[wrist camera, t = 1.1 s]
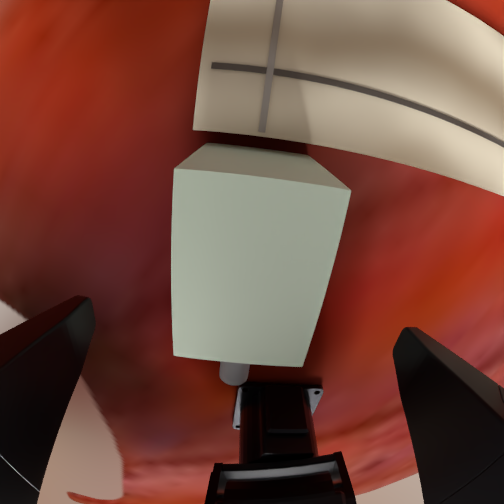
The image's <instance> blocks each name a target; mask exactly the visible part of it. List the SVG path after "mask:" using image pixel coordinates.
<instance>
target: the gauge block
mask: <svg viewBox="0 0 504 504" xmlns="http://www.w3.org/2000/svg"><path fill="white" fill-rule="evenodd" d="M350 194H351V190H350V189H349V188H348V187H347V186H345V185H344V184H343V183H342V182H341V181H340V180H338V179H337V178H336V177H335V176H334V175H332V174H331V173H330V172H329V171H327V170H326V169H325V168H324V167H322V166H321V165H320V164H319V163H317V162H316V161H315V160H314V159H312V158H311V157H310V156H309V155H305V154H298V153H292V152H285V151H278V150H271V149H263V148H255V147H247V146H237V145H228V144H217V143H206V144H205V145H203V146H202V147H201V148H199V149H198V150H197V151H195V152H194V153H193V154H192V155H190V156H189V157H188V158H187V159H185V160H184V161H183V162H182V163H180V164H179V165H178V166H177V167H175V168H174V180H173V201H172V236H171V296H172V330H173V351H174V356H181V357H188V358H196V359H204V360H213V361H221V362H220V378H221V380H222V381H223V382H225V383H227V384H229V385H241V384H243V383H244V382H245V381H246V380H247V378H248V373H249V368H250V364H256V365H271V366H291V367H302V366H303V363H304V360H305V357H306V354H307V351H308V348H309V345H310V342H311V339H312V336H313V333H314V330H315V327H316V323H317V320H318V317H319V313H320V310H321V307H322V303H323V300H324V297H325V293H326V290H327V286H328V282H329V279H330V275H331V272H332V268H333V264H334V260H335V257H336V253H337V249H338V245H339V241H340V237H341V233H342V229H343V225H344V221H345V216H346V212H347V208H348V203H349V199H350Z"/></svg>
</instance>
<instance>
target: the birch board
mask: <svg viewBox="0 0 504 504" xmlns="http://www.w3.org/2000/svg"><path fill="white" fill-rule="evenodd" d="M193 130H201V131H213V132H225V133H235V134H244V135H253V136H261V137H269V138H276V139H283V140H290V141H296V142H302V143H308V144H314V145H320V146H325V147H330V148H336V149H341V150H346V151H350V152H355V153H360V154H364V155H369V156H373V157H377V158H382V159H386V160H390V161H394V162H398V163H402V164H405V165H409V166H413V167H416V168H420V169H424V170H427V171H430V172H434V173H437V174H441V175H444V176H447V177H450V178H453V179H456V180H459V181H463V182H465V183H468V184H471V185H474V186H477V187H480V188H483V189H486V190H488V191H491V192H494V193H496V194H499V195H502V196H504V36H503V35H501V34H500V33H498V32H497V31H496V30H494V29H493V28H491V27H490V26H488V25H487V24H485V23H484V22H482V21H481V20H479V19H478V18H476V17H474V16H473V15H471V14H469V13H468V12H466V11H464V10H463V9H461V8H459V7H457V6H456V5H454V4H452V3H450V2H448V1H446V0H210V6H209V11H208V17H207V23H206V29H205V36H204V42H203V49H202V56H201V63H200V71H199V79H198V87H197V95H196V104H195V113H194V123H193Z"/></svg>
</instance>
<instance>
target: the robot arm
mask: <svg viewBox="0 0 504 504" xmlns="http://www.w3.org/2000/svg"><path fill="white" fill-rule="evenodd" d="M95 325H96V321H95V316H94V310H93V305H92V301H91V299H90V298H89V297H85V296H80V295H77V296H74V297H72V298H70V299H68V300H66V301H64V302H62V303H60V304H58V305H56V306H54V307H52V308H50V309H48V310H47V311H45V312H43V313H41V314H39V315H37V316H35V317H33V318H31V319H29V320H27V321H25V322H23V323H21V324H20V325H17V326H16V327H14V328H12V329H10V330H8V331H6V332H4V333H2V334H0V504H37V501H38V497H39V491H40V489H41V485H42V482H43V478H44V475H45V471H46V468H47V465H48V461H49V458H50V455H51V452H52V449H53V446H54V443H55V440H56V437H57V434H58V431H59V428H60V426H61V422H62V420H63V417H64V415H65V412H66V409H67V406H68V404H69V401H70V399H71V396H72V394H73V391H74V389H75V386H76V384H77V381H78V379H79V376H80V374H81V371H82V368H83V365H84V362H85V358H86V355H87V352H88V349H89V345H90V342H91V339H92V336H93V333H94V330H95ZM393 359H394V364H395V369H396V375H397V380H398V386H399V391H400V397H401V401H402V405H403V408H404V412H405V416H406V420H407V424H408V428H409V432H410V436H411V440H412V444H413V449H414V453H415V458H416V462H417V467H418V472H419V477H420V482H421V487H422V493H423V499H424V504H504V388H503V387H501V386H500V385H498V384H497V383H496V382H494V381H493V380H491V379H490V378H489V377H487V376H486V375H484V374H483V373H482V372H480V371H479V370H477V369H476V368H475V367H473V366H472V365H470V364H469V363H468V362H466V361H465V360H463V359H462V358H460V357H459V356H458V355H456V354H455V353H453V352H452V351H450V350H449V349H447V348H446V347H445V346H443V345H442V344H440V343H439V342H437V341H436V340H434V339H433V338H431V337H430V336H429V335H427V334H426V333H424V332H423V331H421V330H420V329H418V328H416V327H405V328H404V329H403V330H402V331H401V333H400V335H399V338H398V340H397V342H396V344H395V346H394V348H393ZM322 394H323V387H322V386H321V385H297V384H271V383H254V382H244V383H243V384H241V385H239V386H238V392H237V399H236V405H235V411H234V418H233V428H234V429H239V430H240V448H239V464H223V463H215V464H214V469H213V472H211V476H210V480H209V485H208V490H207V495H206V500H205V504H356V499H355V495H354V491H353V488H352V484H351V481H350V478H349V475H348V471H347V468H346V465H345V462H344V458H343V455H342V452H341V451H340V452H334V453H333V454H329V455H323V456H319V455H318V449H317V443H316V436H315V430H314V424H313V418H312V415H313V413H314V411H315V409H316V407H317V405H318V403H319V401H320V398H321V396H322Z"/></svg>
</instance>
